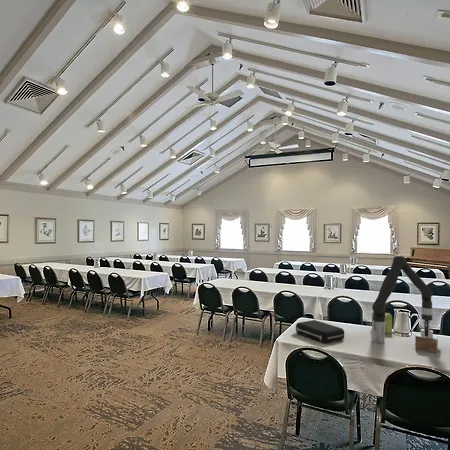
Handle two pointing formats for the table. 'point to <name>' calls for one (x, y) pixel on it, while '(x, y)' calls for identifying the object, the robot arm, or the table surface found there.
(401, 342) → the table surface
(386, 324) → the protein box
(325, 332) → the briefcase
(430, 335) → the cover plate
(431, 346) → the walnut box
